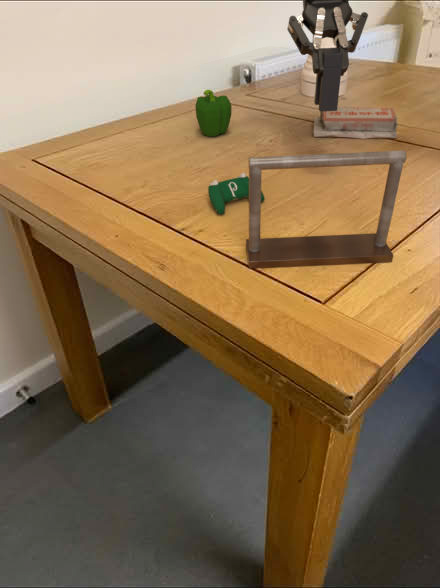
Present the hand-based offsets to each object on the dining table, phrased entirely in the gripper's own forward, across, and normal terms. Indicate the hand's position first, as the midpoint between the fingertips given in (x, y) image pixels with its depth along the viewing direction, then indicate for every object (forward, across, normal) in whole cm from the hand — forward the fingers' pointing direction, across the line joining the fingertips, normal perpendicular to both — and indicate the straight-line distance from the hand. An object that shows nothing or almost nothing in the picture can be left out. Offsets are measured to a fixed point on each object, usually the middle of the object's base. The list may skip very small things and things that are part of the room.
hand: (331, 73), depth 78 cm
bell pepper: (-6, -20, +31) cm, 38 cm away
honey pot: (-28, +12, +53) cm, 61 cm away
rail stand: (+32, -6, -6) cm, 33 cm away
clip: (+3, 0, +6) cm, 6 cm away
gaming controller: (+20, -17, +6) cm, 27 cm away
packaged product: (-3, +12, +29) cm, 32 cm away
